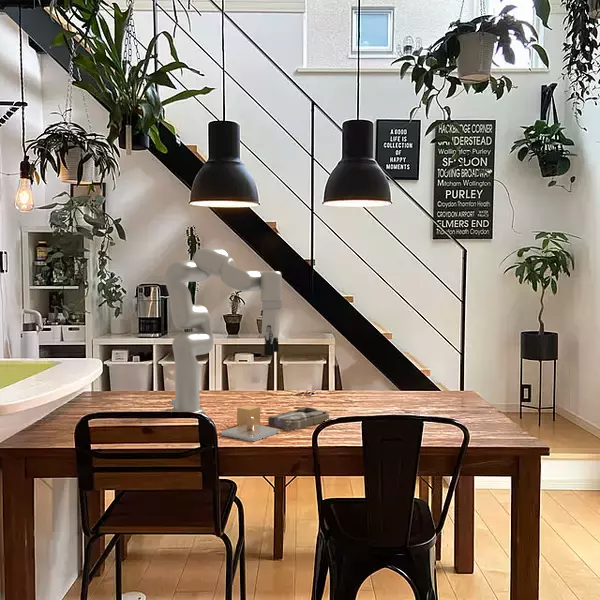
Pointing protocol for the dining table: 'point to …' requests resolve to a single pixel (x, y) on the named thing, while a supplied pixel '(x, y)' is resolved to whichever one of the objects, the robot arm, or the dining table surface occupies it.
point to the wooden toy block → (248, 414)
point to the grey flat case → (298, 418)
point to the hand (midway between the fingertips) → (271, 353)
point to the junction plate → (250, 431)
